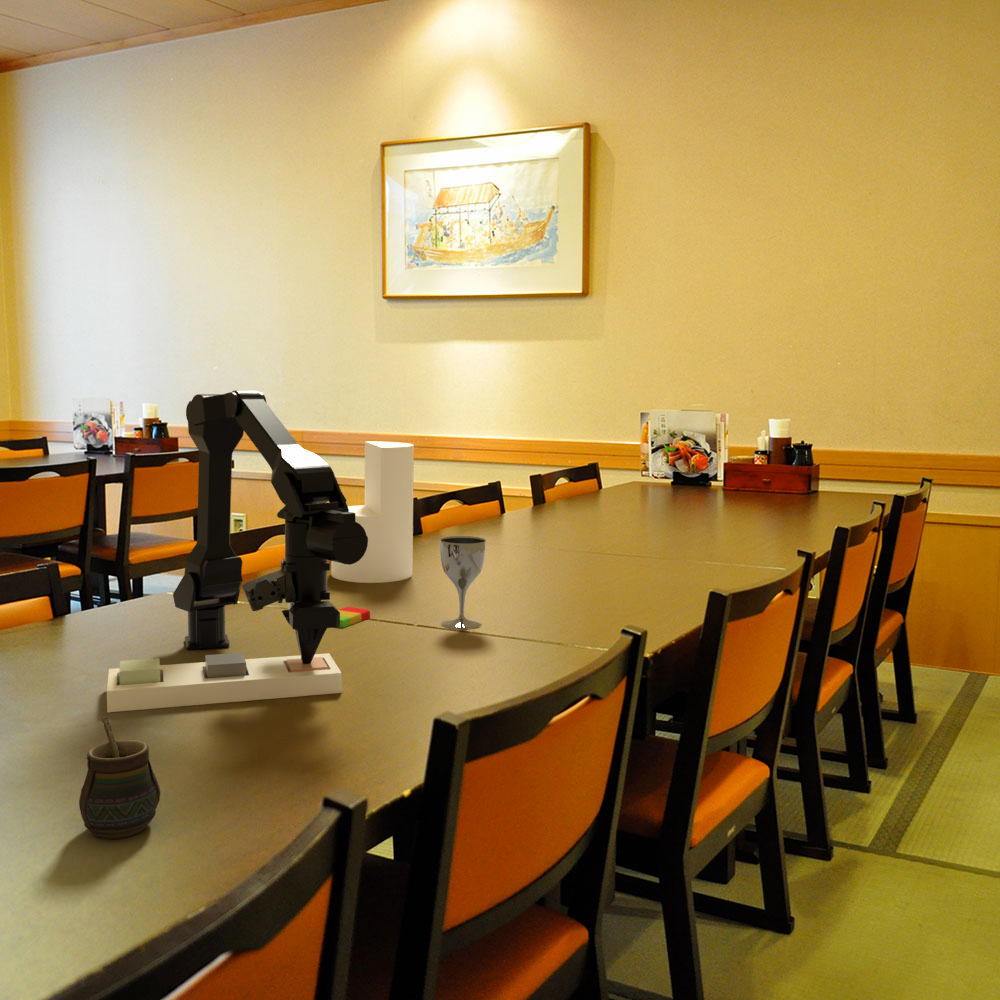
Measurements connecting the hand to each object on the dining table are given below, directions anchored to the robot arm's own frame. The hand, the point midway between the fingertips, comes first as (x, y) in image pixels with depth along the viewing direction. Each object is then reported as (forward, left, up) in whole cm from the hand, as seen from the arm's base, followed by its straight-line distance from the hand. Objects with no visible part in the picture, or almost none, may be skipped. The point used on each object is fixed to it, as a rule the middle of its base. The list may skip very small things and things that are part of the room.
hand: (306, 663), depth 143 cm
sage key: (0, -22, -1) cm, 22 cm away
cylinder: (-73, +25, -3) cm, 77 cm away
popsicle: (-33, +10, -4) cm, 35 cm away
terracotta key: (0, 0, -2) cm, 2 cm away
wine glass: (-27, +31, -3) cm, 41 cm away
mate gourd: (+40, -24, -3) cm, 47 cm away
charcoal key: (0, -11, -1) cm, 11 cm away
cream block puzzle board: (0, -11, -3) cm, 11 cm away
